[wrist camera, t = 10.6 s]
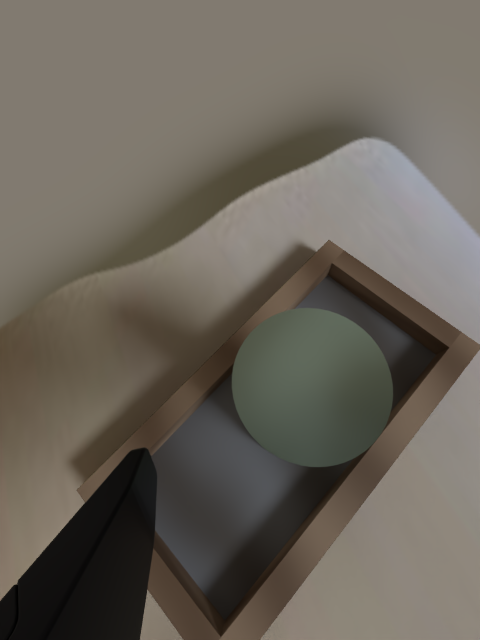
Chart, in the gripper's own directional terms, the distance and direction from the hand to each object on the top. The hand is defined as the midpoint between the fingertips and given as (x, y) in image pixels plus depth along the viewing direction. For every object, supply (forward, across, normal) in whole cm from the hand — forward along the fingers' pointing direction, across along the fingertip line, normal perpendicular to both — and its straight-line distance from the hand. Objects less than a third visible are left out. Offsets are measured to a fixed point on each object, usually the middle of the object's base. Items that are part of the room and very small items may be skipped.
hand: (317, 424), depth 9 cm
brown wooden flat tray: (+8, 0, +7) cm, 11 cm away
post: (+8, 0, +6) cm, 10 cm away
